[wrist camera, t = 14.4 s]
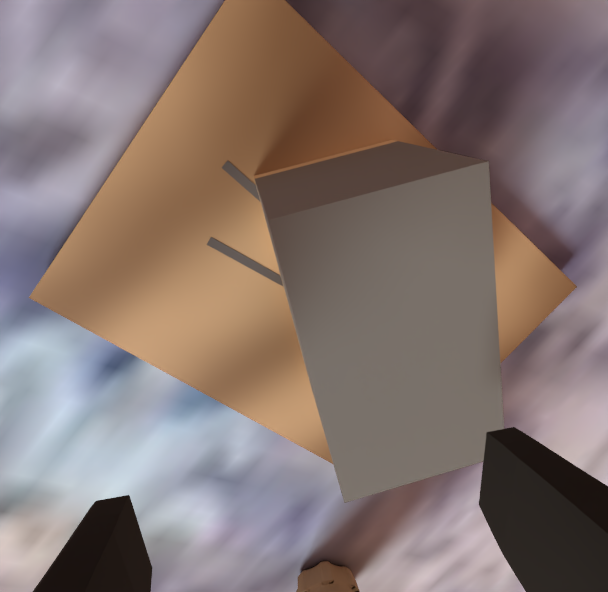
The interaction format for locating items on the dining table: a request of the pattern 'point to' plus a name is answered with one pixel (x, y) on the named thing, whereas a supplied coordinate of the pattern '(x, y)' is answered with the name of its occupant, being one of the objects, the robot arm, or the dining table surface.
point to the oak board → (242, 220)
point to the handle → (327, 579)
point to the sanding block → (392, 306)
